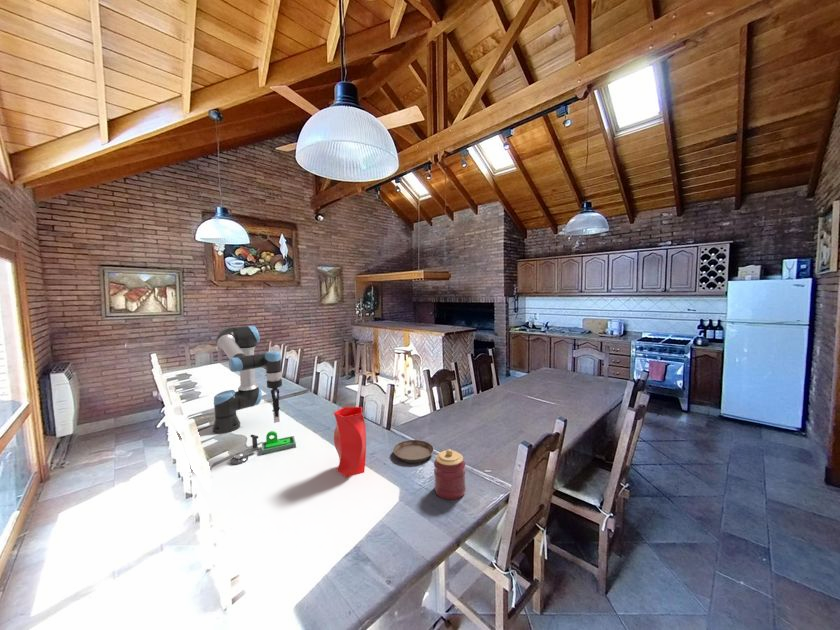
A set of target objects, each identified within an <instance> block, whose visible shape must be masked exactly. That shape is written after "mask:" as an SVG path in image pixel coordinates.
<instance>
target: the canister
mask: <svg viewBox="0 0 840 630" xmlns="http://www.w3.org/2000/svg"><path fill="white" fill-rule="evenodd" d="M433 465H434V470H433V473H434V490H435V493H436V495H438V496H439V497H440V498H442V499H444V500H456V499H460V498H462V497H463V496H464V495H465V493H466V491H467V490H466V489H467V487H466V486H467V485H466V469H465V467H466V461H465V460H464V456H463V455H462V454H461V453H460V452H458V451H456V450H453V449H450V448H447V449H446V450H442V451H441V452H439V453H438V454H436V456H435V459H434V461H433Z"/></svg>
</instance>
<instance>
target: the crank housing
mask: <svg viewBox="0 0 840 630" xmlns="http://www.w3.org/2000/svg"><path fill="white" fill-rule="evenodd" d="M248 460H249V455H246V456H244V457H243V458H242V459H239V460H235V459H234V456H233V457H231V458H230V459H229V464H230V466H231V465H233V466H237V465H241V464H243V463H246V462H247V461H248Z"/></svg>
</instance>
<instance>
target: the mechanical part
mask: <svg viewBox="0 0 840 630" xmlns="http://www.w3.org/2000/svg"><path fill="white" fill-rule="evenodd" d="M271 436H274V437H273V438H270V437H271ZM265 437H266V438H265V442H266V443H267V445H266V449H268V448H273V447H277V446H282V445H287V444H290V438H289V439H283V440H278V439H279V438H278V433H277V432H276V431H275V430H270V431H269V432H267V433H266V436H265Z"/></svg>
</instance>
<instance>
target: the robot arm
mask: <svg viewBox="0 0 840 630" xmlns="http://www.w3.org/2000/svg"><path fill="white" fill-rule="evenodd" d="M260 340H261V336H260V332H259V330H258V328H257V327H256V326H254V325H244V326H234V327H233V326H231V327H226V328H225V329H222V330H221V331H220V332H218V334H217V336H216V337H215V342H216V346H217V348H219V349H221V350H222V351H223V352H224V353H225V355H226V356H227V358H228V359H229V360H228V368H229V370H230V372H233V373H234V372H235V373H236V372H239V375H240V376H239V378H240V380H239V381H240V385H239V386H238V387H237V391H235V389H234V390H233V389H230V390H224V391H220V392H219V393H218V394H216V395H215V396H213V408H214V422H213V425H212V433H213V434H226V433H230V432H233V431H237V430H238V429H240V428H241V421H240V419H239V417H238V415H237V411H240V410H243V409H247V408H252V407H255V406H257V405H259V404H260V403H261V401H262V389H261V388H260V387H259V385H258V384H256V369H259V368H260V369H261V368H265V372H266V374H265V375H264V376H265V377H266V388H268V389H270V394H271V399H272V408H273V409H272V411H271V412H273V423H274V424H276V423H279V422H280V421H281V420H280V408H281V407H280V402H279V401H280V389H279V388H280V387H282V386H283V379H282V377H283V374H282V361H281V360H282V357H281V352H280V351H279V350H270V351H266V352H260V353H258V354H255V349H256V347H257V344H259V343H260Z"/></svg>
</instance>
